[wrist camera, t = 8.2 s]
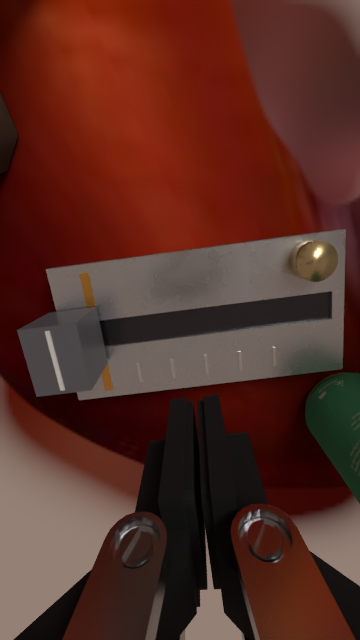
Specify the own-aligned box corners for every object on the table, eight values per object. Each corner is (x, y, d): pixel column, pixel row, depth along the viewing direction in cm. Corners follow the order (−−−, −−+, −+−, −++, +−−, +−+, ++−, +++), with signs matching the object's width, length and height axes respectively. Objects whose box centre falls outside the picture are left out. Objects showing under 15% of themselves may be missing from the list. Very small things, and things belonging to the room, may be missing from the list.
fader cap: (96, 306, 24) (75, 323, 19) (108, 362, 25) (91, 391, 20) (48, 312, 24) (15, 331, 19) (62, 367, 25) (35, 397, 20)
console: (332, 230, 24) (359, 228, 21) (331, 360, 28) (354, 378, 24) (55, 267, 25) (35, 271, 21) (85, 389, 28) (71, 411, 25)
